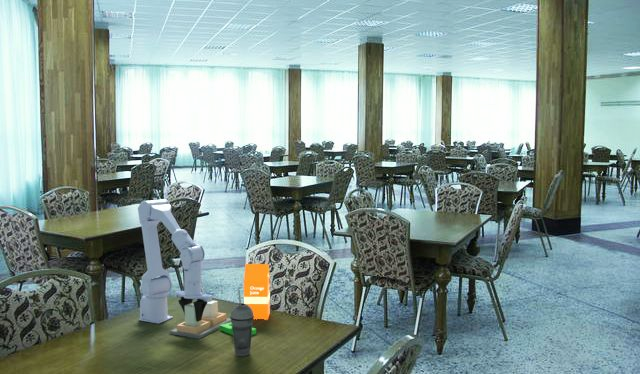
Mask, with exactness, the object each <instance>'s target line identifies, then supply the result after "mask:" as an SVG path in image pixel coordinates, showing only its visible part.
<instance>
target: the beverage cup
mask: <svg viewBox="0 0 640 374" xmlns="http://www.w3.org/2000/svg"><path fill="white" fill-rule="evenodd" d="M237 292H238V301H239V304H236V305H235V306H234V307H233V308H232V310H231V313H230V317H229V318H230V319H231V323H232V328H233V335H232V336H233V347H234V354H235V356H238V357H244V356H245V357H246V356H249V355H250V353H251V346H252V345H251V344H252V335H251V334H252V328H253V323H254V320H253V318H254V315H253V311H252V309H251V307H250V306H248V305H247V304H244V303H242V299H241V290H240V288H238V289H237Z"/></svg>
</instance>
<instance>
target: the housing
mask: <svg viewBox="0 0 640 374" xmlns="http://www.w3.org/2000/svg"><path fill="white" fill-rule="evenodd" d="M226 323H231V319H230V317H227V313H226V312H225V313H224V312H219V311H218V316H217V317H215V318H213V319H211V318H205V317H202V324H200V325H198V326H196V327H192V326H186V325H185V321H183V322H181V323H178V324H176V328H174V329H172V330H170V331H169V334H171V335H175V336H181V337H187V338H193V339H199V340H200V339H202V338H204V337H205V336H209V333H210V334H212V333H213V331H214V332H215V331H217V330H220V325H223V324H226ZM211 332H212V333H211Z"/></svg>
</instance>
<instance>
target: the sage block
mask: <svg viewBox="0 0 640 374" xmlns="http://www.w3.org/2000/svg"><path fill="white" fill-rule="evenodd" d="M184 322H185V325H186V326H192V327H196V326H198V325H200V324H202V320H201V321H198V322H197V321H196V312H195V307H194V304H193V302H192V303H190V304H187V305H185V315H184Z"/></svg>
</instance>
